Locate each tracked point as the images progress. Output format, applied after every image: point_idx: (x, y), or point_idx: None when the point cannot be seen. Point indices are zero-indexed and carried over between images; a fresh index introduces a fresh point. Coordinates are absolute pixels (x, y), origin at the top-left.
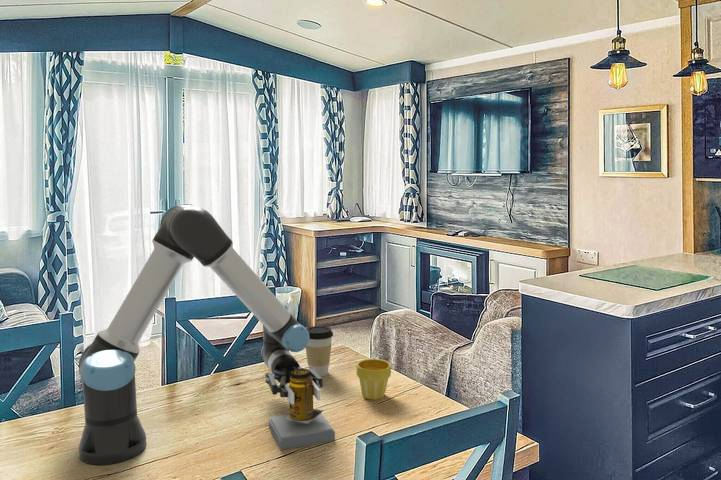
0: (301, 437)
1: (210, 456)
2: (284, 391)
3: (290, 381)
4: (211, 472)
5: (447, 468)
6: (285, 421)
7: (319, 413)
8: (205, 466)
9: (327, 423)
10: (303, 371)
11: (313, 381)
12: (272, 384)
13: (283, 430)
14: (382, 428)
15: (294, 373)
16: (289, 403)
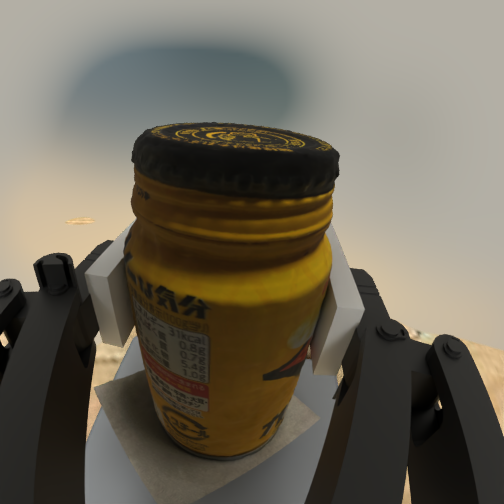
0: None
1: (492, 398)
2: (361, 273)
3: (324, 241)
4: (468, 343)
5: (77, 220)
6: (287, 476)
7: (130, 379)
8: (486, 363)
9: (123, 373)
10: (204, 135)
11: (95, 263)
12: (470, 359)
13: (315, 402)
14: (3, 333)
15: (304, 140)
16: (297, 381)
